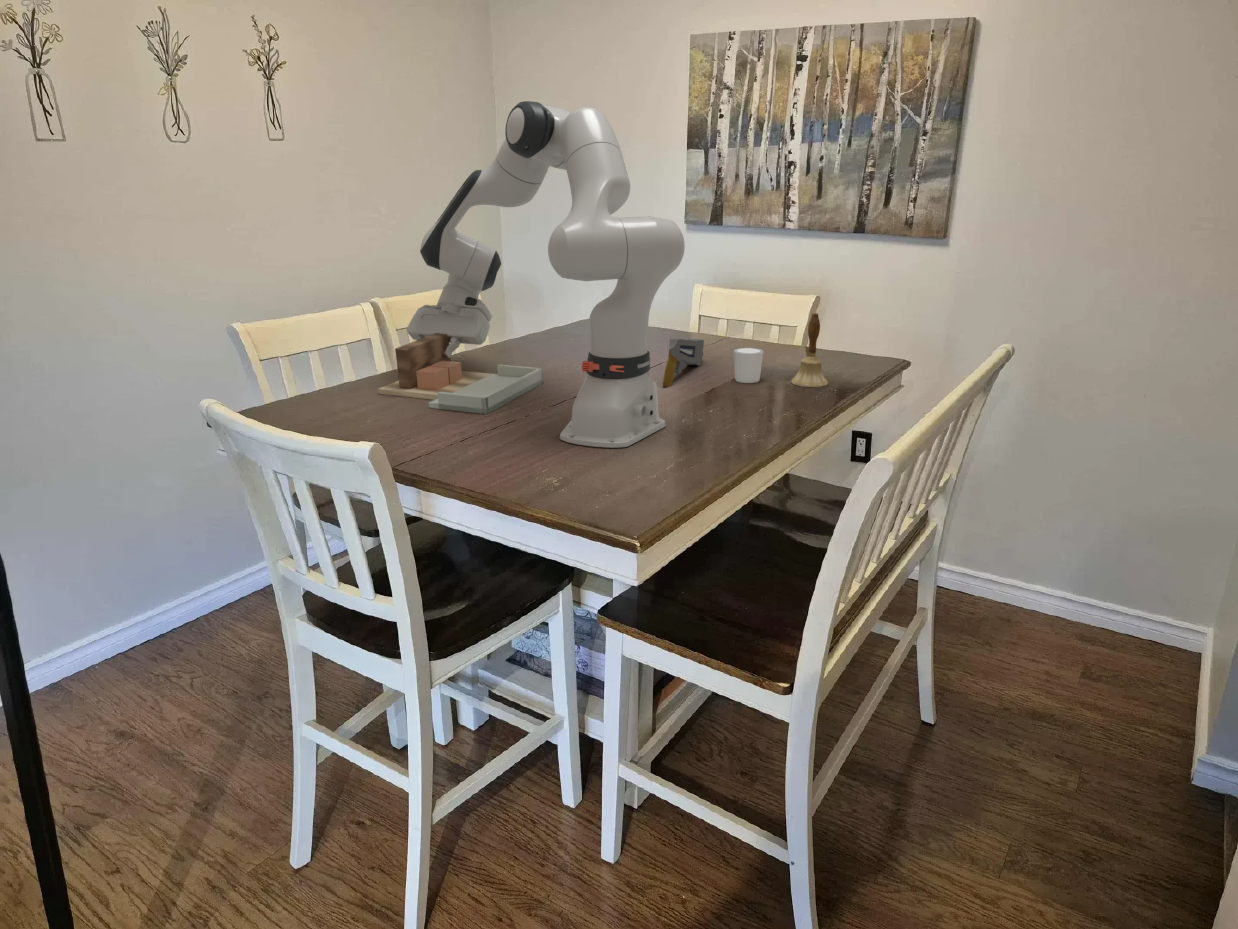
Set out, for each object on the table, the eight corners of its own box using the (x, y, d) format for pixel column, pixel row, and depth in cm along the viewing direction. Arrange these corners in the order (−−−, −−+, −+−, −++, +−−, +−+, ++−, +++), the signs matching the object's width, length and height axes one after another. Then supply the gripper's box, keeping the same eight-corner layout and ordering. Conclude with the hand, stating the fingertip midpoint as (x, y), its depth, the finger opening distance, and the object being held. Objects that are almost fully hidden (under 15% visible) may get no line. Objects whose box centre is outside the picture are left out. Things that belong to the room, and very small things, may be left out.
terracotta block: (436, 390, 184) (435, 372, 183) (417, 388, 186) (416, 371, 185) (449, 384, 189) (447, 367, 187) (430, 383, 190) (429, 366, 189)
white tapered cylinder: (763, 377, 196) (765, 347, 193) (760, 384, 190) (761, 354, 187) (734, 375, 198) (735, 346, 195) (730, 382, 191) (731, 352, 189)
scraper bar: (410, 389, 186) (406, 349, 182) (399, 387, 187) (395, 348, 183) (451, 370, 199) (448, 333, 195) (441, 368, 200) (438, 332, 197)
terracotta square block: (450, 384, 189) (449, 367, 188) (431, 382, 191) (430, 365, 189) (462, 379, 193) (460, 362, 192) (444, 377, 195) (442, 360, 194)
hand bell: (831, 380, 192) (836, 311, 187) (823, 389, 185) (829, 317, 180) (795, 376, 196) (800, 309, 190) (787, 385, 189) (791, 315, 183)
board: (445, 401, 181) (444, 395, 180) (378, 393, 187) (378, 388, 186) (491, 378, 198) (491, 373, 198) (429, 372, 204) (429, 367, 204)
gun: (699, 399, 210) (706, 340, 210) (670, 386, 187) (678, 320, 187) (687, 398, 211) (694, 339, 211) (656, 385, 188) (665, 319, 188)
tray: (486, 414, 171) (485, 397, 170) (428, 407, 176) (427, 391, 175) (543, 382, 194) (542, 368, 192) (491, 377, 199) (490, 363, 197)
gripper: (413, 297, 201) (393, 345, 196) (487, 300, 194) (468, 351, 189) (425, 312, 207) (406, 359, 202) (498, 316, 199) (480, 365, 194)
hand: (437, 355), depth 195 cm, fingers closed on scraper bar, 3 cm apart
